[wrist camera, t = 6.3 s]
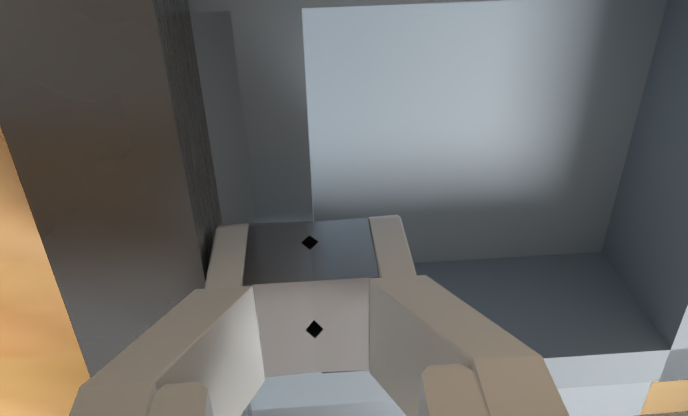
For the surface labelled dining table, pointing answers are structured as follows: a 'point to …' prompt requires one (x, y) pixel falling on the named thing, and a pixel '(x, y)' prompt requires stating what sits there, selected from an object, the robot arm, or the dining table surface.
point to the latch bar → (111, 157)
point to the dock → (474, 167)
